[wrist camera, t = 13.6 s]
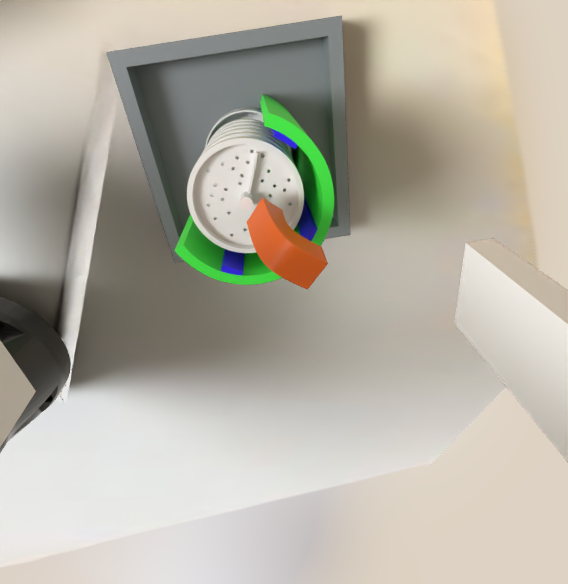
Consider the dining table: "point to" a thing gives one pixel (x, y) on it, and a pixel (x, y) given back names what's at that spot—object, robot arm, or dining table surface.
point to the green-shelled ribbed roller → (258, 201)
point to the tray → (233, 102)
